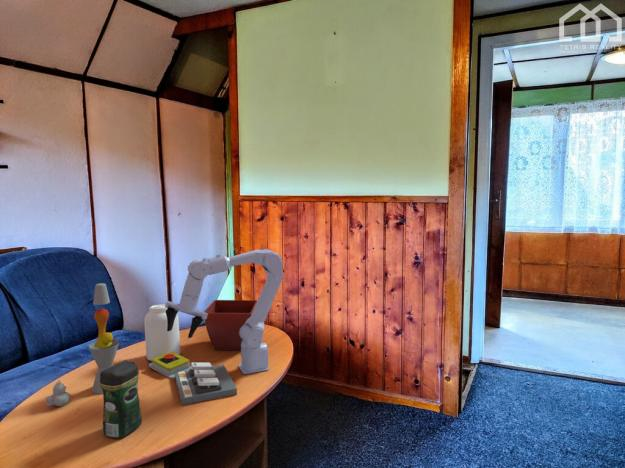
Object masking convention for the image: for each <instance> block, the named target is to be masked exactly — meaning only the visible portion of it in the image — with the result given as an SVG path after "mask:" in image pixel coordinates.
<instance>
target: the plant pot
mask: <svg viewBox="0 0 625 468" xmlns="http://www.w3.org/2000/svg"><path fill="white" fill-rule="evenodd" d="M257 301H258V299H257V300H255V299H254V300H253V299H241V300H240V299H214V300H213V301H212V302H211V303H210V304H209V305H208V306H207V308H206V309H205V310H204V311H203V312H205V313H208V315H207V319H205V320H204V324H205V328H206V332H207V335H208V337H209V340H210V343H211V346H212V348H213V349H214V351H241V343H242V338H241V337H240V335H239V331H240V329H241V327H242V326H243V325H244V324H245V323H246V321H247V319H248V318H250V317H251V315H252V313H253V310H254V308H255V306H256V303H257Z"/></svg>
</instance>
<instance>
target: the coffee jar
mask: <svg viewBox="0 0 625 468" xmlns="http://www.w3.org/2000/svg"><path fill="white" fill-rule="evenodd" d="M138 368H139V367H138V364H137V363H136V362H135V361H133V360H127V359H123V360H122V361H120V362H118V363H115V364H113V366H111V367H109V368H107V369H105V370H103V371H102V372H101V373H100V386H101V388H102V390H103V394H102V396H103V399H102V400H103V415H102V429H103V430H102V431H103V432H102V433H103V435H104V436H106V437H107V438H111V439H119V438H121V439H123V438H124V437H127V436H128V435H129V434H131V433H133V432H134V431H135V430H136V429H138V428H139V427H141V425H142V423H143V422H142V421H143V418H142V410H141V405H140V399H139V398H140V397H139V388H138V385H139V384H138V383H139V381H138V380H139V376H140V373H139V369H138Z"/></svg>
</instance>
